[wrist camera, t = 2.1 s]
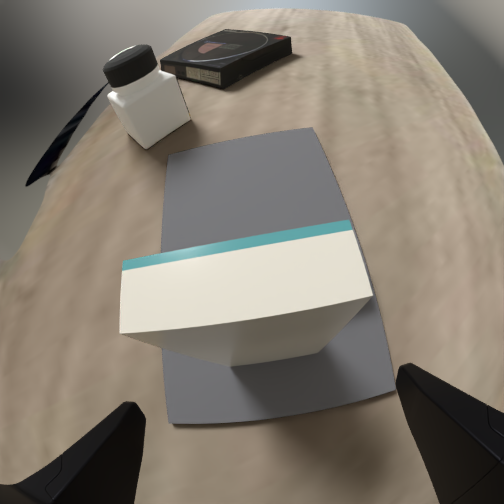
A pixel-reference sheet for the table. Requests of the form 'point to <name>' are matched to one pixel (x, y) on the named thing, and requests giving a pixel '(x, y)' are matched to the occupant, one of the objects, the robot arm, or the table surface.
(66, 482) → the robot arm
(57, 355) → the table surface
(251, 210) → the mat
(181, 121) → the medicine bottle
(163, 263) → the tile
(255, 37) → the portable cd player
